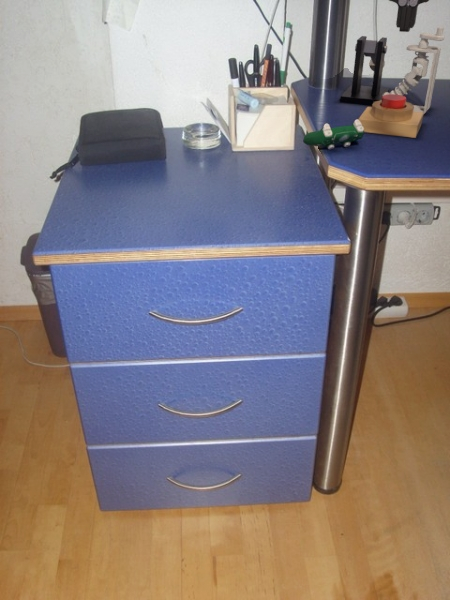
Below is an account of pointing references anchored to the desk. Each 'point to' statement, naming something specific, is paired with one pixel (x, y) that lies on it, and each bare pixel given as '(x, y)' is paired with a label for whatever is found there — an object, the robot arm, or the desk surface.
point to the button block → (391, 120)
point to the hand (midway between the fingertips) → (404, 30)
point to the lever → (371, 52)
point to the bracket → (356, 91)
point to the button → (393, 101)
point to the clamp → (420, 72)
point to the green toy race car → (335, 135)
